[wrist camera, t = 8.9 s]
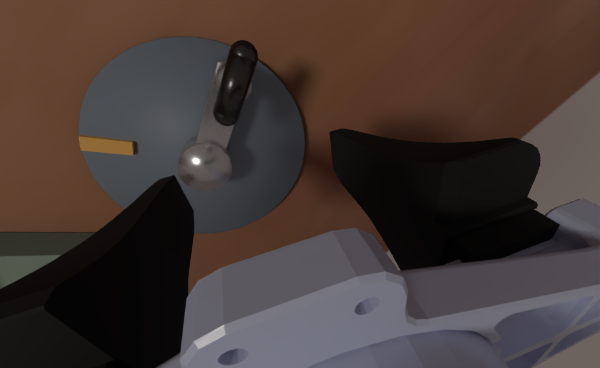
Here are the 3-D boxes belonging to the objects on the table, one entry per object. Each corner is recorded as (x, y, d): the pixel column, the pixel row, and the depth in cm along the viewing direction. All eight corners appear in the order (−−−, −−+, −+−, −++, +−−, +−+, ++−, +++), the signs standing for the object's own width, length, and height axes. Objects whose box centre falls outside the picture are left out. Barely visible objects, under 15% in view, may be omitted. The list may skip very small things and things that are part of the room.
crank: (223, 182, 21) (224, 223, 17) (176, 171, 19) (164, 213, 15) (267, 50, 17) (284, 59, 12) (211, 23, 15) (209, 23, 11)
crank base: (325, 68, 19) (329, 70, 19) (282, 230, 27) (283, 235, 26) (60, 0, 14) (52, -1, 13) (98, 228, 21) (94, 235, 20)
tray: (146, 232, 23) (139, 253, 21) (151, 321, 29) (146, 343, 26) (-62, 231, 18) (-98, 258, 16) (-5, 336, 24) (-25, 365, 22)
